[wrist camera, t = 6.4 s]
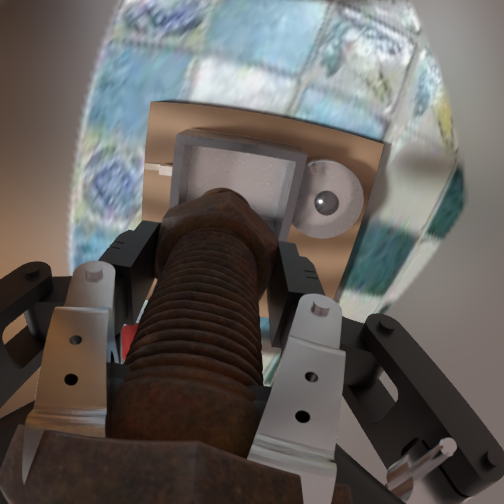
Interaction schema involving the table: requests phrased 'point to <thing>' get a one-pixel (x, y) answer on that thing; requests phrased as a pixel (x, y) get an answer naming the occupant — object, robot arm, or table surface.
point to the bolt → (179, 381)
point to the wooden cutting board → (272, 128)
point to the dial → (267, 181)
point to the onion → (127, 338)
